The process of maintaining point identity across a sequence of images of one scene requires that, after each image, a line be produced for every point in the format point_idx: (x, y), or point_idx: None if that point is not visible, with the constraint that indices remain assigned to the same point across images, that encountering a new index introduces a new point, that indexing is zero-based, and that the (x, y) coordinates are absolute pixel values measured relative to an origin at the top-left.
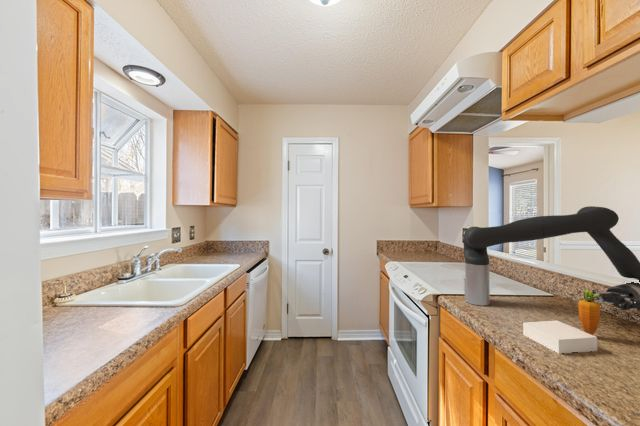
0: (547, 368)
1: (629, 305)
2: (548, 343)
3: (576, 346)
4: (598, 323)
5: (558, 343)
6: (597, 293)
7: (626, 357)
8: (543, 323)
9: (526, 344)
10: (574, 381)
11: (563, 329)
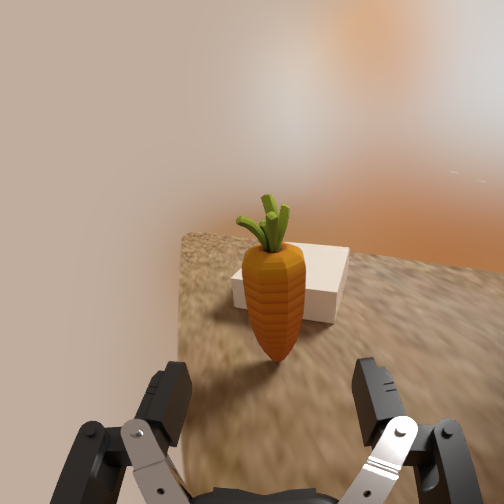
0: (257, 240)
1: (149, 389)
2: None
3: None
4: (252, 326)
5: None
6: (385, 466)
7: (189, 320)
8: (332, 264)
9: None
10: (228, 241)
11: None
